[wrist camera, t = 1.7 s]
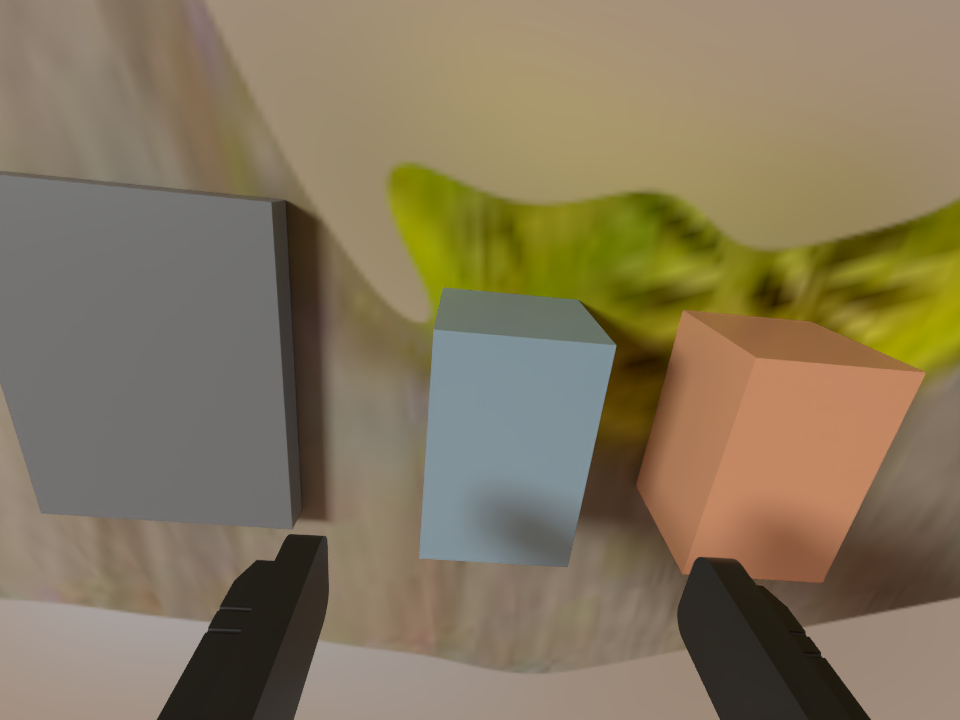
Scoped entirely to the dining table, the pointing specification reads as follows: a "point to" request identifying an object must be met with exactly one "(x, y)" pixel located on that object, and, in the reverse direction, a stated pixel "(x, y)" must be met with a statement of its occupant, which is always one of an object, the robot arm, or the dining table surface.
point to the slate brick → (510, 426)
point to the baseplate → (149, 351)
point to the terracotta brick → (768, 441)
